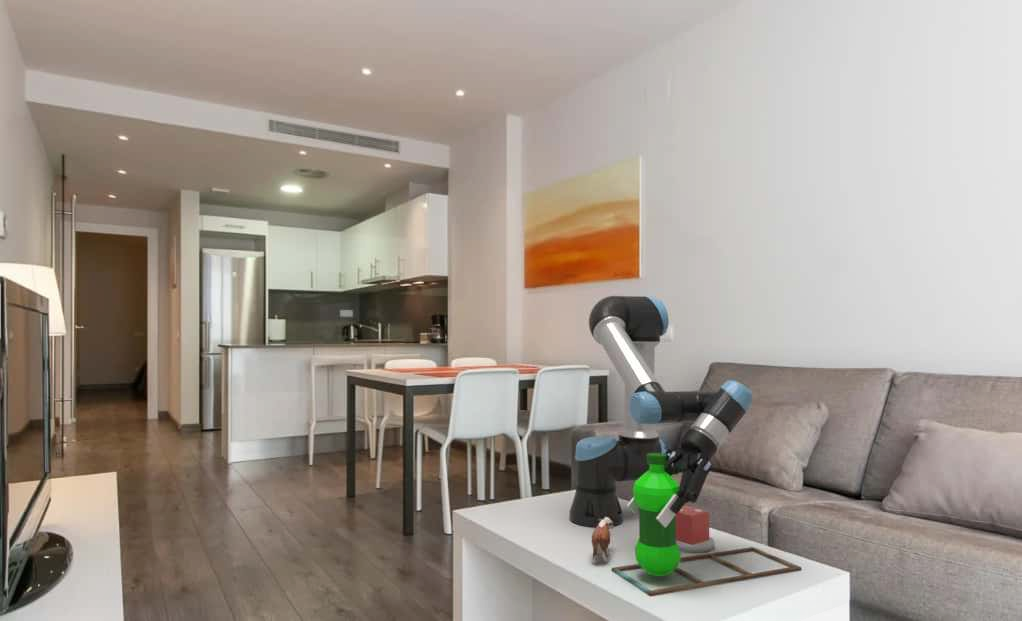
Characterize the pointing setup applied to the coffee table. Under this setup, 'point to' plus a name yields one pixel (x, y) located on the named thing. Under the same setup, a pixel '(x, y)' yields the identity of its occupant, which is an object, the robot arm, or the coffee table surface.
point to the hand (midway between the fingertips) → (645, 516)
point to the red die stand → (693, 530)
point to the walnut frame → (701, 583)
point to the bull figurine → (601, 538)
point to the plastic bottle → (656, 540)
